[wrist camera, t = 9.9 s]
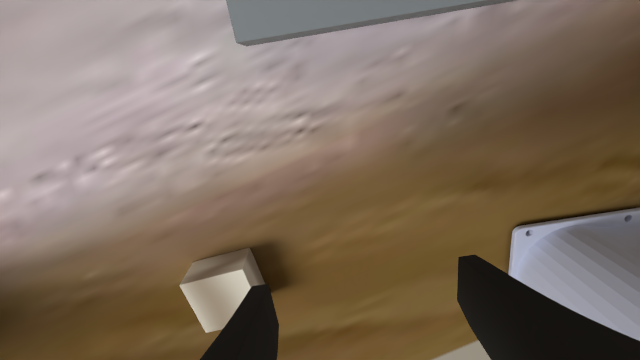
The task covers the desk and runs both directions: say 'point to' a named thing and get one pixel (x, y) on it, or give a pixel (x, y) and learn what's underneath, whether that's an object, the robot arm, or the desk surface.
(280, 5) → the hole board
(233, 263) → the short peg
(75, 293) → the desk surface
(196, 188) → the desk surface
